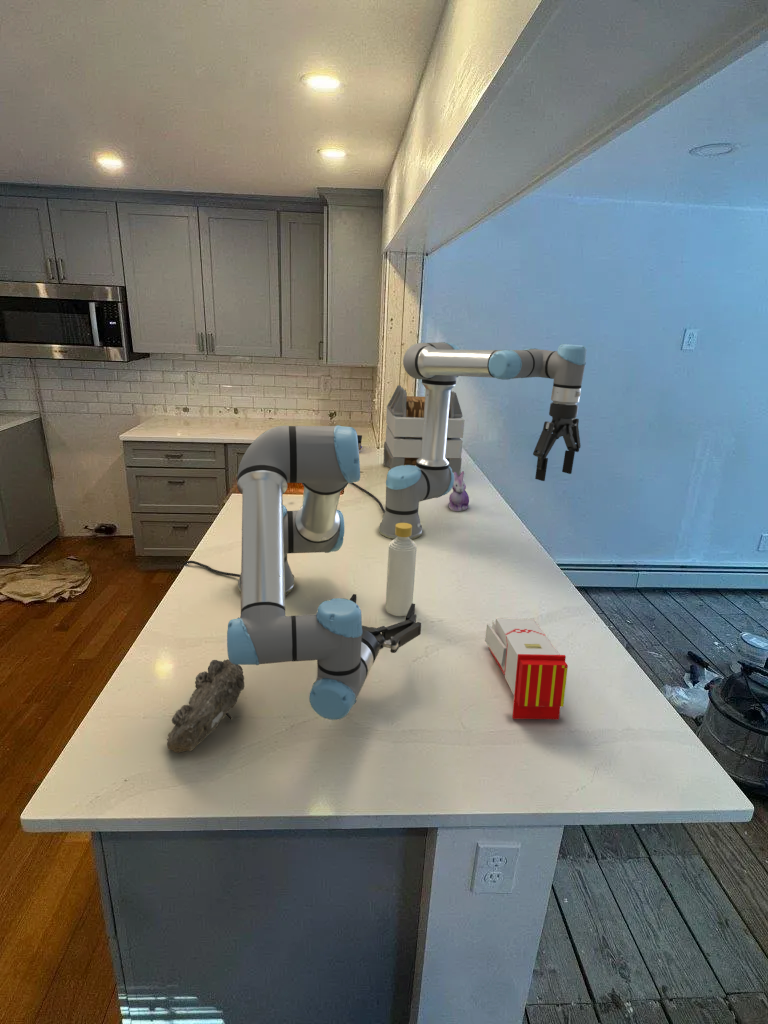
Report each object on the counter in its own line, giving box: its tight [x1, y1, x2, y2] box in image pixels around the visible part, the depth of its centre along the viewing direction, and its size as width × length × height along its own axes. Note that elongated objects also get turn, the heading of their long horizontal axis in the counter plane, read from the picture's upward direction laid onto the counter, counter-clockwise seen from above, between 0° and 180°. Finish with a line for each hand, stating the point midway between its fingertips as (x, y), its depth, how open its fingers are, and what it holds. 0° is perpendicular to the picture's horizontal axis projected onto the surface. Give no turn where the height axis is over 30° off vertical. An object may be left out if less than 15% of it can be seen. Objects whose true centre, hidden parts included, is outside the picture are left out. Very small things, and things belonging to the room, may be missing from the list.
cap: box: [395, 523, 412, 537], centre depth 142 cm, size 4×4×2 cm
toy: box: [484, 617, 569, 720], centre depth 122 cm, size 12×13×30 cm
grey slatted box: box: [383, 384, 465, 476], centre depth 268 cm, size 34×33×41 cm
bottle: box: [385, 536, 418, 617], centre depth 146 cm, size 7×7×23 cm
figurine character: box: [357, 434, 363, 451], centre depth 311 cm, size 7×8×15 cm
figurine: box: [448, 470, 470, 512], centre depth 226 cm, size 9×10×15 cm
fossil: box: [166, 658, 245, 754], centre depth 106 cm, size 22×10×15 cm
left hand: (383, 604), depth 128 cm, fingers open, 13 cm apart
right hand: (553, 476), depth 165 cm, fingers open, 13 cm apart
